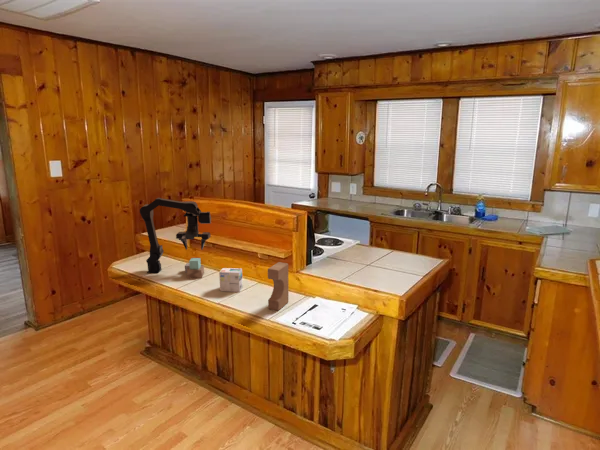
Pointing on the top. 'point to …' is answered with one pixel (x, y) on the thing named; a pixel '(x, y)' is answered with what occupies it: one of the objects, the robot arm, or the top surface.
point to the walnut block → (195, 272)
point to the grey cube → (186, 267)
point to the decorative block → (278, 285)
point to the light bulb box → (231, 279)
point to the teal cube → (195, 263)
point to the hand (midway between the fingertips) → (194, 249)
